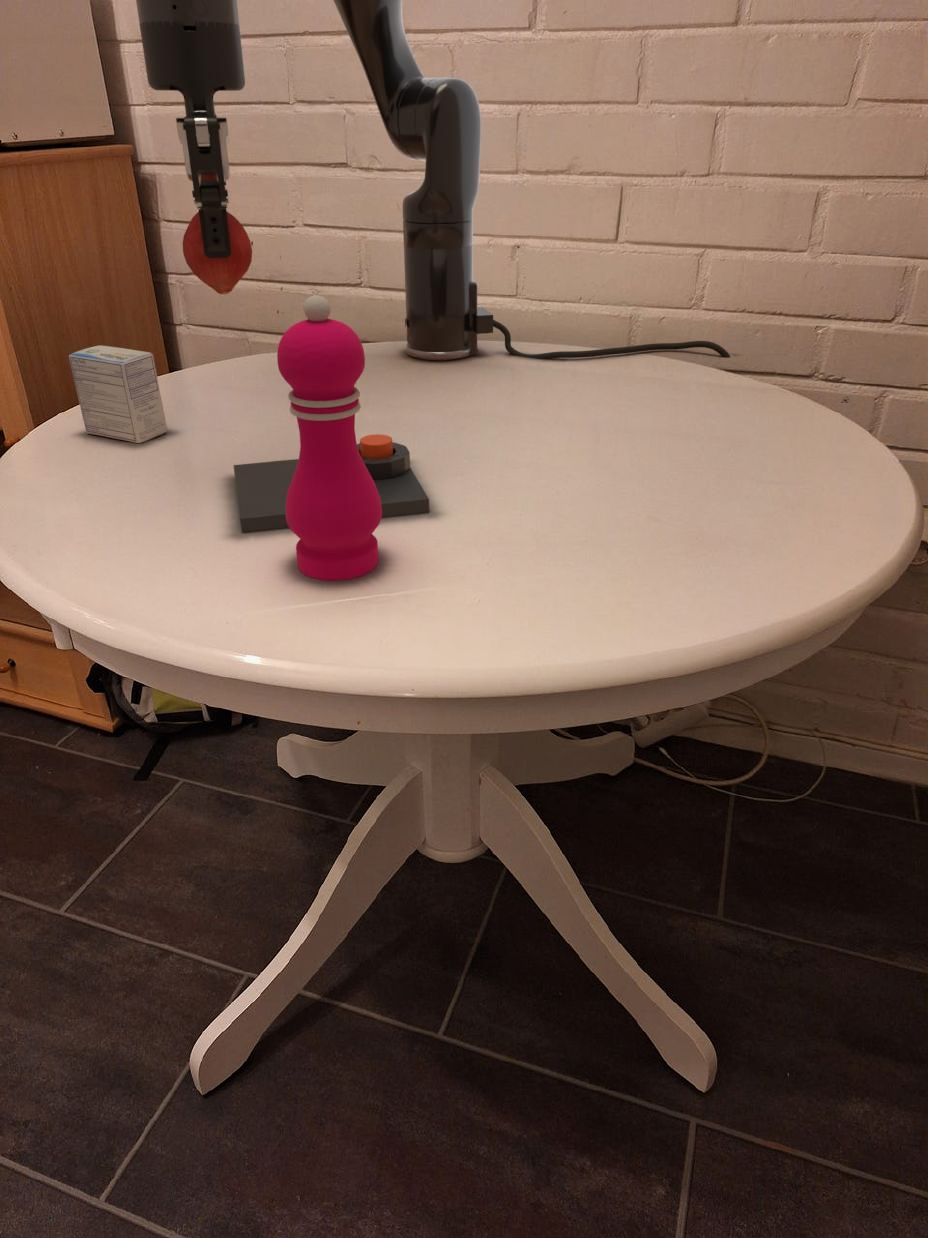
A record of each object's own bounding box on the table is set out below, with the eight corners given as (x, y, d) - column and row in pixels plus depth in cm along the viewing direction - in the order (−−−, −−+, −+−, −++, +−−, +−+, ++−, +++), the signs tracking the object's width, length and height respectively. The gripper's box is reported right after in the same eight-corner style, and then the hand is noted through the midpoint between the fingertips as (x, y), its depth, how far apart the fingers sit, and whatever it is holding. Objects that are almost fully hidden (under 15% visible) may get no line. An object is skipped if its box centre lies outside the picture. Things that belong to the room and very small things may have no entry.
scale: (400, 462, 90) (399, 433, 88) (429, 513, 79) (428, 481, 77) (235, 478, 86) (231, 448, 85) (242, 534, 75) (237, 500, 74)
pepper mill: (301, 542, 74) (273, 285, 64) (389, 543, 74) (376, 285, 64) (283, 584, 68) (249, 306, 58) (379, 585, 68) (362, 306, 57)
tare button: (389, 448, 86) (389, 432, 85) (395, 459, 83) (395, 443, 82) (358, 451, 85) (357, 435, 84) (363, 462, 83) (362, 446, 82)
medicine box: (169, 433, 98) (155, 351, 94) (138, 445, 95) (122, 361, 90) (116, 422, 101) (100, 343, 97) (84, 434, 98) (66, 352, 94)
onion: (175, 296, 80) (160, 196, 76) (220, 286, 84) (208, 190, 80) (226, 302, 77) (213, 199, 73) (270, 291, 81) (259, 193, 77)
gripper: (144, 25, 76) (176, 242, 84) (131, 10, 63) (170, 266, 72) (236, 26, 77) (258, 239, 85) (241, 13, 65) (266, 262, 73)
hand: (218, 250), depth 79 cm, fingers closed on onion, 6 cm apart
